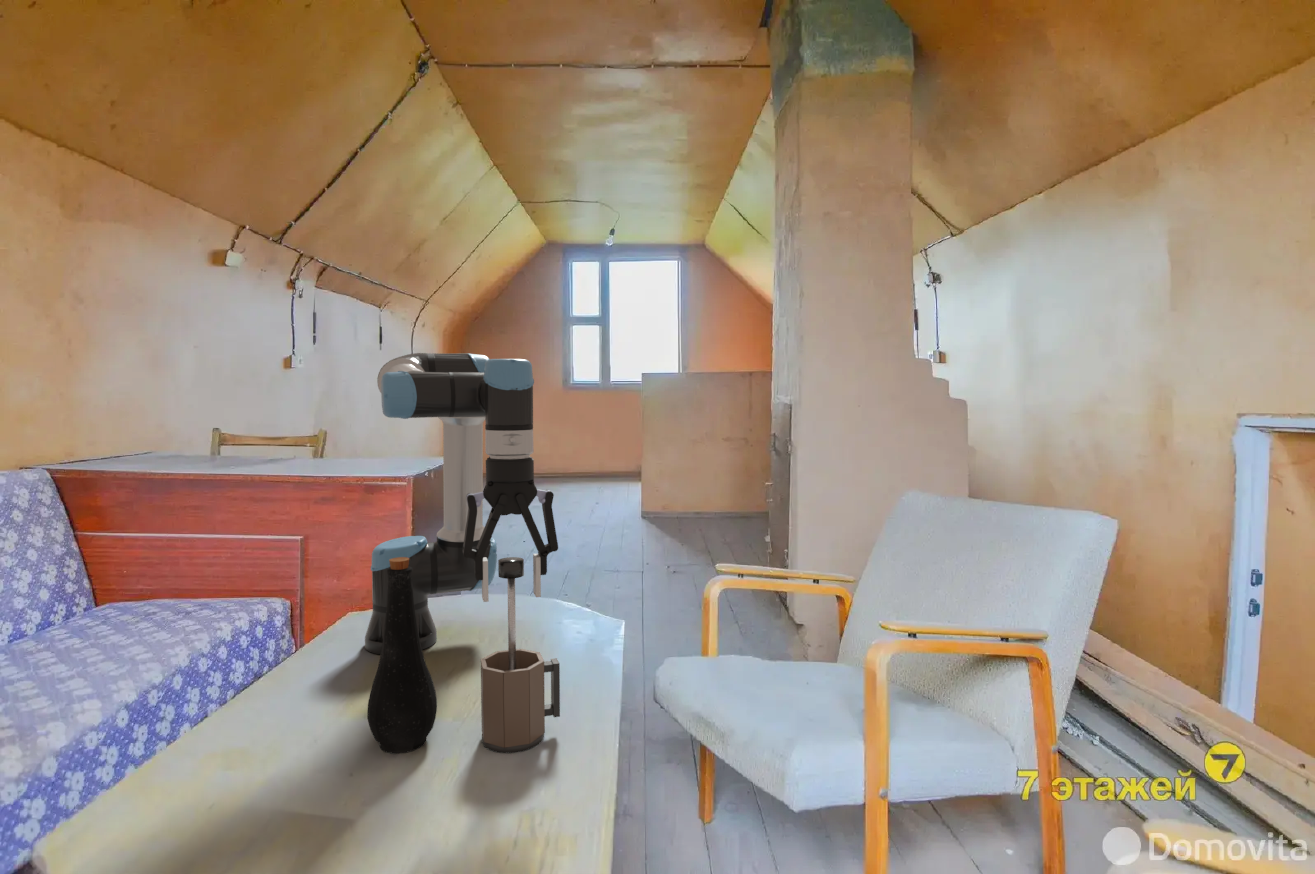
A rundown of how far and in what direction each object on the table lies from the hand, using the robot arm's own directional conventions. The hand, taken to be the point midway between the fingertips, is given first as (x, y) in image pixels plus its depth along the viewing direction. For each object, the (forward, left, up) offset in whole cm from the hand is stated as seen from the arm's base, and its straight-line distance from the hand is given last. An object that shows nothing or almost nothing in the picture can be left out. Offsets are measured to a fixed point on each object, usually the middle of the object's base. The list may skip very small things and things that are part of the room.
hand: (511, 596), depth 117 cm
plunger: (0, 0, -15) cm, 15 cm away
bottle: (-4, -17, -24) cm, 29 cm away
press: (0, +1, -23) cm, 23 cm away
